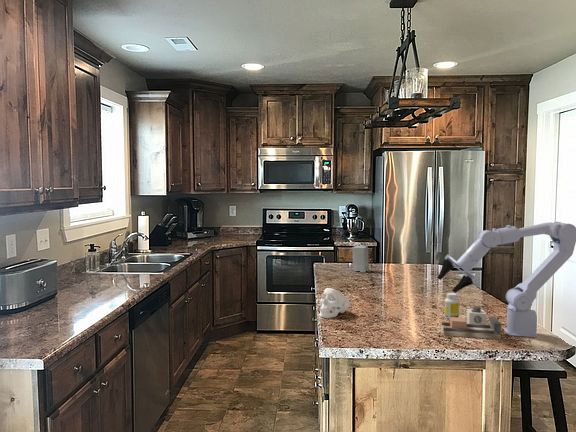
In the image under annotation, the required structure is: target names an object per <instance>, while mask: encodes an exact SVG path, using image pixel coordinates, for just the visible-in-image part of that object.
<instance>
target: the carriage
mask: <svg viewBox="0 0 576 432" xmlns="http://www.w3.org/2000/svg"><path fill="white" fill-rule="evenodd" d="M449 320H450V321H449V322H450V326H451V328H462V329H467V318H465V317H450V319H449Z"/></svg>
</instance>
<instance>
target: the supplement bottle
mask: <svg viewBox="0 0 576 432" xmlns="http://www.w3.org/2000/svg"><path fill="white" fill-rule="evenodd" d="M457 298H458V294H457V293H454V292H447V293H446V298H445V300H444V318H446V319H447V320H450V317H458V318H460V317H459V314H460V313H459V312H460V311H459V310H460V301H459V300H458V299H457Z"/></svg>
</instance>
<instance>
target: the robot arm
mask: <svg viewBox="0 0 576 432" xmlns="http://www.w3.org/2000/svg"><path fill="white" fill-rule="evenodd" d="M539 235H547V236H549V237H550V239H551V241H552V245H553V248H554V249H553V251H551V253H550V254H549V255H548V256H547V257H546V258H545V259H544V260H543V262H542V263H541V264H539V266H538V267H537V268H536V269H535V270H533V271H532V273H531V274H530V275H529V276H528V277H527V278H526V279H525V280H524V281H523V282H520V283H518V284H517V285H516V286H515V287H513V288H510V289H508V291H506V293H505V301H507V303H508V304H507V307H506V309H507V310H506V311H507V312H506V327H503V331H505V333H506V334H507V335H508V336H511V337H527V338H537V337H538V335H537V329H538V328H537V327H538V326H537V325H538V315H537V312H536V310H534V309H531V308H532V306H533V303H534V301H535V299H536V298H537V295H538V294H537V293H538V292H539V290H540V289H541V288H542V287H543V286H544V285H545V284H546V283H547V282H548V281H549V280H550V279H551V278H552V277H553V276H554V275H555V274H556V273H557V272H558V271H559V270H560V268H562V267H563V266H564V264H566V263H567V261H568V260H570V258H571V257H573V254H574V251H575V247H576V226H575V225H574V224H573V223H572V224H571V223H564V222H561V221H554V222H544V223H543V222H542V223H538V224H534V225H530V226H524V227H520V228H518V227H517V226H514V225H512V226H511V225H510V224H507V225H505V227H500V228H497V227H495V228H492V230H489V229H486V230H482V231H481V232H479V233H478V235H477V238H476V240H475V241H474V242H472V244H471V245H470V246H469V247H468V248H467V249H466V250H465V251H464V252H463V254H462V255H461V256H460V257H458V259H457V260H456V259H455V258H453V257H452V256H451V255H450V254H446V255H445V257H444V260H443V262H442V266H441V269H440V272H439V273H438V275H437V277H436V278H437V279H438V280H440V281H441V280H442V279H443V278H444V277H446V275H447V274H448V273H449V272H450V271H452V270H453V269H454V268H456V269H457V270H458V271H460V272H461V273H462V275H463V276H462V277H461V279H460V280H459V282H458V283H457V284H456V285H455V286H454V287H453V289H452V290H451V291H452V293H455V294H457V292H459V291H460V290H462V289H464V288H466V287H469V286H473V284H477V283H478V281H479V278H478V277H477V276H475V274H473V273H472V272H471V271H472V270H473V269H474V268H475V266H476V265H477V264H478V263H479V262H480V261H481V260H482V259H483V257H484V256H485V255H487V253H488V251H490V249H491V248H496V247H497V246H498V245H506V244H512V243H517V242H519V240H520V238H525V237H533V236H539ZM460 268H461V269H460Z"/></svg>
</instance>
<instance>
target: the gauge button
mask: <svg viewBox="0 0 576 432" xmlns="http://www.w3.org/2000/svg"><path fill="white" fill-rule="evenodd" d="M472 309H473V312H477V313H481V310H482V308H481V307H480V306H472Z"/></svg>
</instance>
